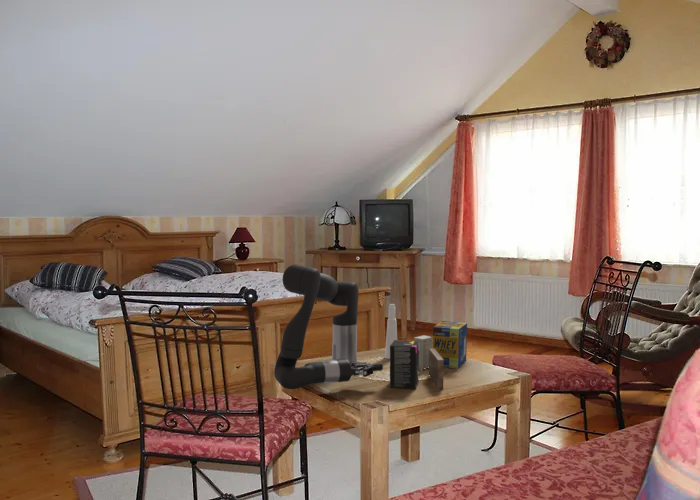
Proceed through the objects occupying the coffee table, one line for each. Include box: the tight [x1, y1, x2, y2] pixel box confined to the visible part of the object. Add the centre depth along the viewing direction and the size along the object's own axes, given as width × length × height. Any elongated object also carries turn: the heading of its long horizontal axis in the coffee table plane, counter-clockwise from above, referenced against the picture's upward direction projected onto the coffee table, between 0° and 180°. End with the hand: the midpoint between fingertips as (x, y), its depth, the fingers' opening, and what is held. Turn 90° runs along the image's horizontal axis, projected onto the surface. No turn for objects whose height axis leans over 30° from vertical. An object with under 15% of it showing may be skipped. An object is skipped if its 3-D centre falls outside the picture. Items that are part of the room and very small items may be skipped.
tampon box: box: [389, 339, 420, 390], centre depth 235 cm, size 11×9×15 cm
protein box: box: [432, 320, 468, 370], centre depth 267 cm, size 10×15×16 cm
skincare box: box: [413, 335, 433, 369], centre depth 258 cm, size 6×4×12 cm
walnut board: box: [428, 349, 445, 390], centre depth 239 cm, size 2×18×10 cm, turn 3°
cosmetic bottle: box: [383, 303, 398, 360], centre depth 276 cm, size 6×6×22 cm
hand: (381, 366), depth 232 cm, fingers closed
